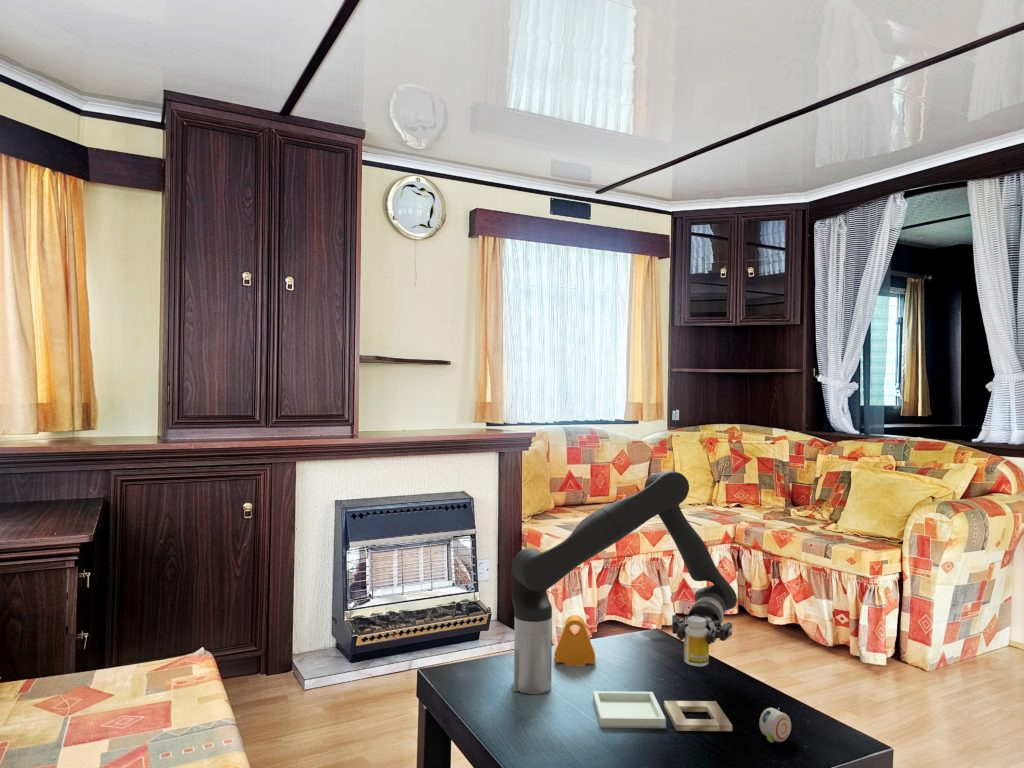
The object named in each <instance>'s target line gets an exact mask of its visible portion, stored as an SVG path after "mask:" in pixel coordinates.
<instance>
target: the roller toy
mask: <svg viewBox="0 0 1024 768" xmlns="http://www.w3.org/2000/svg"><path fill="white" fill-rule="evenodd" d="M758 723H759V726H758V727H759V729H760V731H761V733H762V734H763V735H764V736H765V737H766V740H767V741H768V742H769V743H774V742H777V743H782V742H784V741H787V738H788V737H789V735H790V733H791V731H792V722H791V719H790V716H789V715H787V714H786V713H785V712H781V711H780V710H778V709H776V708H774V707H767V708H766V709H764V710H763V711H762V713H761V715H760V718H759V722H758Z"/></svg>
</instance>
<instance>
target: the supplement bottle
mask: <svg viewBox="0 0 1024 768" xmlns="http://www.w3.org/2000/svg"><path fill="white" fill-rule="evenodd" d="M687 624H688V626H687V627H686V628H685V630H684V639H683V661H684V662H685V663H686V664H687V665H690V666H695V667H704V666H707V665H708V664H709V661H710V659H709V658H710V644H707V634H708V632H709V631H708V630H707V629H706V628H705V627H706V619H705V618H702V617H697V616H692V617H688V622H687Z"/></svg>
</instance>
